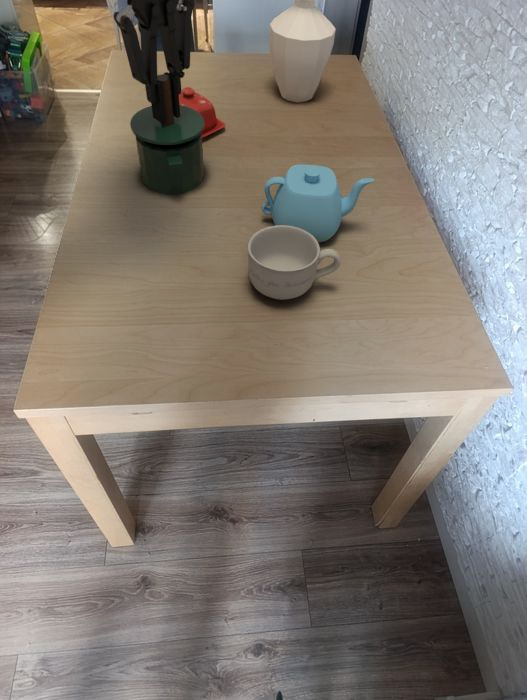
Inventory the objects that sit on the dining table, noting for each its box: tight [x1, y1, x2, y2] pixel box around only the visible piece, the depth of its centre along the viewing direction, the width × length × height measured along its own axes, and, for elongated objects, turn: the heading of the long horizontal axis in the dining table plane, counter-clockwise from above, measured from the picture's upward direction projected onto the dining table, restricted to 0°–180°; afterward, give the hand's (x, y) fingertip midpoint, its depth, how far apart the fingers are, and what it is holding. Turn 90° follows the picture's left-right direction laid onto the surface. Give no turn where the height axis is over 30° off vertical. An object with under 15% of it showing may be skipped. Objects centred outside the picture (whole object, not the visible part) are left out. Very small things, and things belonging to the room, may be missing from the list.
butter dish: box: [179, 86, 226, 139], centre depth 103 cm, size 12×12×8 cm
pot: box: [135, 134, 205, 195], centre depth 93 cm, size 12×17×8 cm
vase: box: [268, 0, 337, 104], centre depth 109 cm, size 14×14×25 cm
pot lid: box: [129, 73, 204, 145], centre depth 85 cm, size 13×13×9 cm
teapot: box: [261, 164, 375, 243], centre depth 85 cm, size 13×11×18 cm
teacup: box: [247, 225, 342, 300], centre depth 77 cm, size 14×11×8 cm
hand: (166, 116), depth 87 cm, fingers closed on pot lid, 2 cm apart
